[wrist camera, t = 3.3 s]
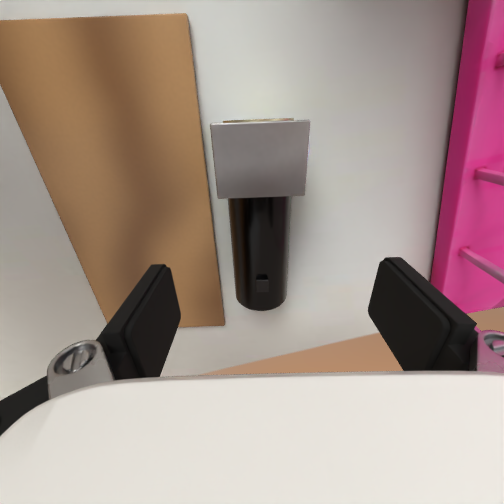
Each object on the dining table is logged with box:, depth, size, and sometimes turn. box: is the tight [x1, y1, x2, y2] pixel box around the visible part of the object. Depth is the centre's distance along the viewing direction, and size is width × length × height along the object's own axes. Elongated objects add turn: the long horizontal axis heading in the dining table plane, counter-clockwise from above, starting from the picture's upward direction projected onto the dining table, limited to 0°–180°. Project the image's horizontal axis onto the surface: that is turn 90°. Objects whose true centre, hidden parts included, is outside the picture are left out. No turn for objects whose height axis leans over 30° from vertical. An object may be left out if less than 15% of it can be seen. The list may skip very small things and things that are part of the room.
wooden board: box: [0, 13, 225, 327], centre depth 18 cm, size 11×22×1 cm, turn 2°
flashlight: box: [210, 118, 310, 311], centre depth 16 cm, size 13×5×5 cm, turn 2°
